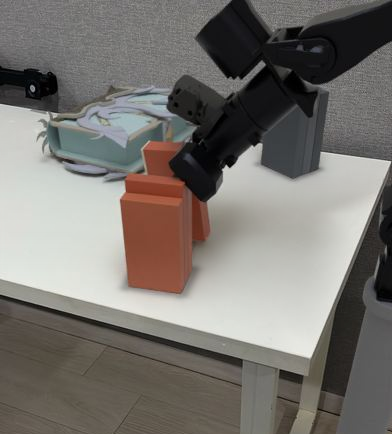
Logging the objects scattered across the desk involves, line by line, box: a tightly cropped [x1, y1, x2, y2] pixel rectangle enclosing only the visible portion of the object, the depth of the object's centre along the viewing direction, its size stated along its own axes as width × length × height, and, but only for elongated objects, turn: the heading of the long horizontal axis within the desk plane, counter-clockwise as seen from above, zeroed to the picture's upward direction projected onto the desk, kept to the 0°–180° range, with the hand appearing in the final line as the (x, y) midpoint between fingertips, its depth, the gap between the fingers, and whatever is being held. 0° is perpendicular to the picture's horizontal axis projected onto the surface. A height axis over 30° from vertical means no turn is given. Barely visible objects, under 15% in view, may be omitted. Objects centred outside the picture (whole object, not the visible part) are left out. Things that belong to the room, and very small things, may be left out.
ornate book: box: [35, 84, 198, 179], centre depth 103 cm, size 23×10×30 cm
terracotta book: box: [141, 141, 211, 242], centre depth 75 cm, size 7×2×13 cm, turn 68°
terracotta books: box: [119, 173, 193, 295], centre depth 69 cm, size 7×6×14 cm
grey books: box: [260, 82, 330, 179], centre depth 95 cm, size 8×6×14 cm
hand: (169, 188), depth 75 cm, fingers closed on terracotta book, 3 cm apart
